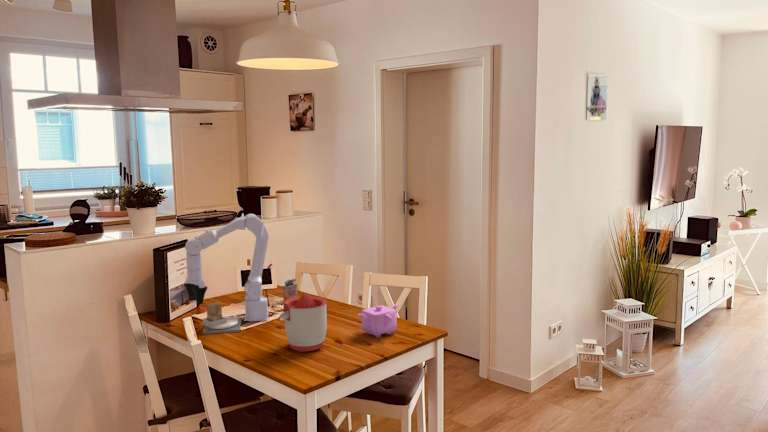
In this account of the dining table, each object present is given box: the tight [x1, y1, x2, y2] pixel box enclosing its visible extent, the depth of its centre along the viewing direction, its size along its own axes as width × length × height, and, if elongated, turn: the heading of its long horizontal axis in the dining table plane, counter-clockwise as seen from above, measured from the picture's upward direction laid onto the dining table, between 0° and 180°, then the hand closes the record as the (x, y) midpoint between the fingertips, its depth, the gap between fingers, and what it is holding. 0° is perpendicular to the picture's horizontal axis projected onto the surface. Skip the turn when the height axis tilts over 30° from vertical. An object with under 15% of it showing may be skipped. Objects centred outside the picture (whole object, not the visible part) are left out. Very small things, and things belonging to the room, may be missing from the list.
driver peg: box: [206, 302, 223, 322], centre depth 238 cm, size 4×4×8 cm
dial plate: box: [201, 318, 243, 335], centre depth 242 cm, size 14×14×1 cm
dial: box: [202, 316, 239, 329], centre depth 241 cm, size 13×12×3 cm
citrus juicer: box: [279, 293, 328, 353], centre depth 217 cm, size 16×17×20 cm
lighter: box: [282, 278, 298, 303], centre depth 279 cm, size 8×3×10 cm, turn 143°
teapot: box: [357, 304, 400, 338], centre depth 232 cm, size 15×13×11 cm
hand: (196, 301), depth 244 cm, fingers open, 7 cm apart
